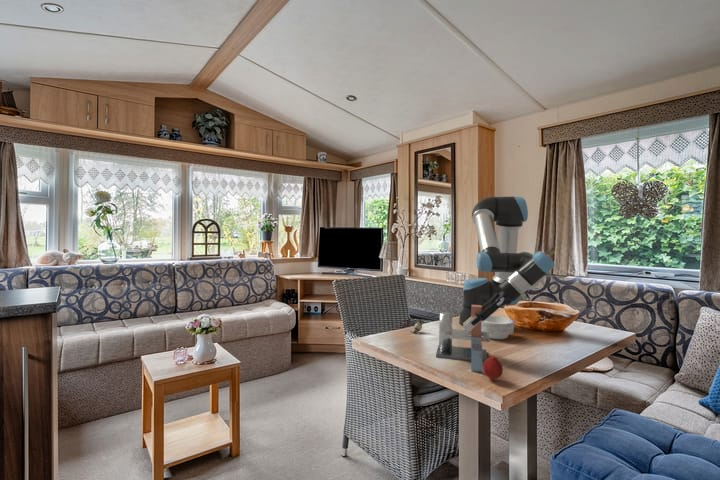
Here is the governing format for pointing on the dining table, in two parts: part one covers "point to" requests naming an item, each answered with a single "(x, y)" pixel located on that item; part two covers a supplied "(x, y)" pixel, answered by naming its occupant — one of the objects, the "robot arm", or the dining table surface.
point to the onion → (492, 368)
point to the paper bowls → (497, 327)
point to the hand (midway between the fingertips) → (465, 328)
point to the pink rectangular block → (477, 329)
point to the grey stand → (460, 353)
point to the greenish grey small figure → (417, 326)
